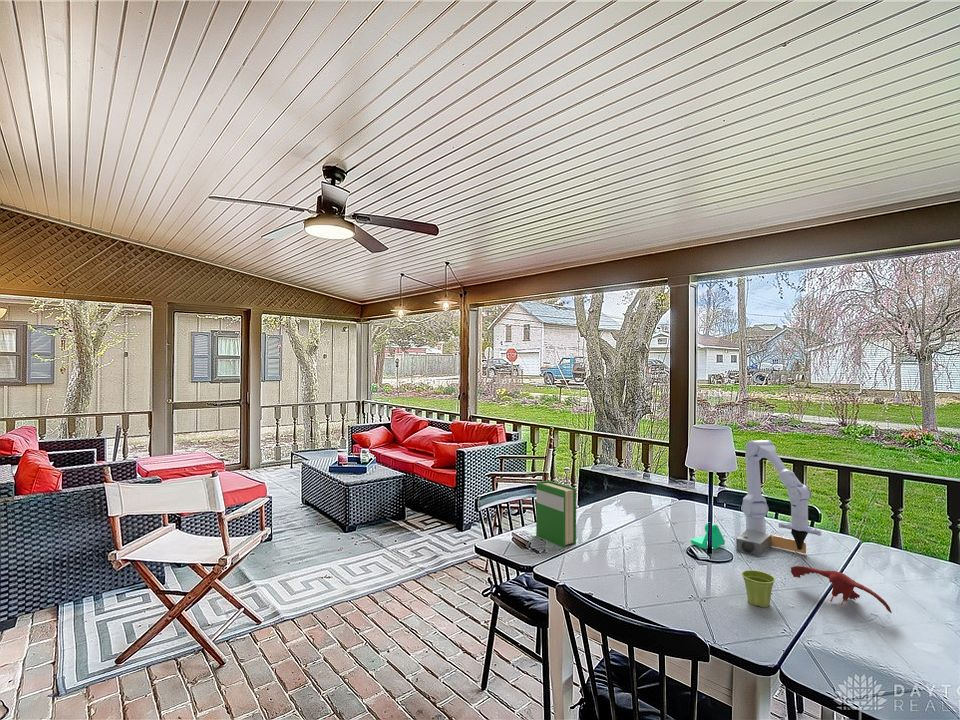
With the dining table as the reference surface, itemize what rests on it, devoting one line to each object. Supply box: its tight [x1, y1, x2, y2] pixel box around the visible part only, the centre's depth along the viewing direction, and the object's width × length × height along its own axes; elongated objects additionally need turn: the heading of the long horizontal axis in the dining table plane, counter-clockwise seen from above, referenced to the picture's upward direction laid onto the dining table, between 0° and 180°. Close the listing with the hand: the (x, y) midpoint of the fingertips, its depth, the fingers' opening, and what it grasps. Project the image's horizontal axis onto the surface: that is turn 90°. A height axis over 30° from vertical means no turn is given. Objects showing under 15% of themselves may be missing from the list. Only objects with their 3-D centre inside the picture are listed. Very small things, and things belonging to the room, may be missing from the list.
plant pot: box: [741, 569, 776, 608], centre depth 154 cm, size 9×9×9 cm
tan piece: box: [771, 534, 807, 555], centre depth 200 cm, size 13×2×4 cm, turn 47°
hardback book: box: [535, 479, 577, 549], centre depth 211 cm, size 18×7×24 cm, turn 34°
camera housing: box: [735, 529, 772, 557], centre depth 202 cm, size 17×9×6 cm, turn 135°
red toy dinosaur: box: [790, 565, 893, 614], centre depth 155 cm, size 28×9×15 cm
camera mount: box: [690, 522, 726, 550], centre depth 204 cm, size 12×8×10 cm, turn 115°
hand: (799, 549), depth 195 cm, fingers closed, pressing on tan piece
